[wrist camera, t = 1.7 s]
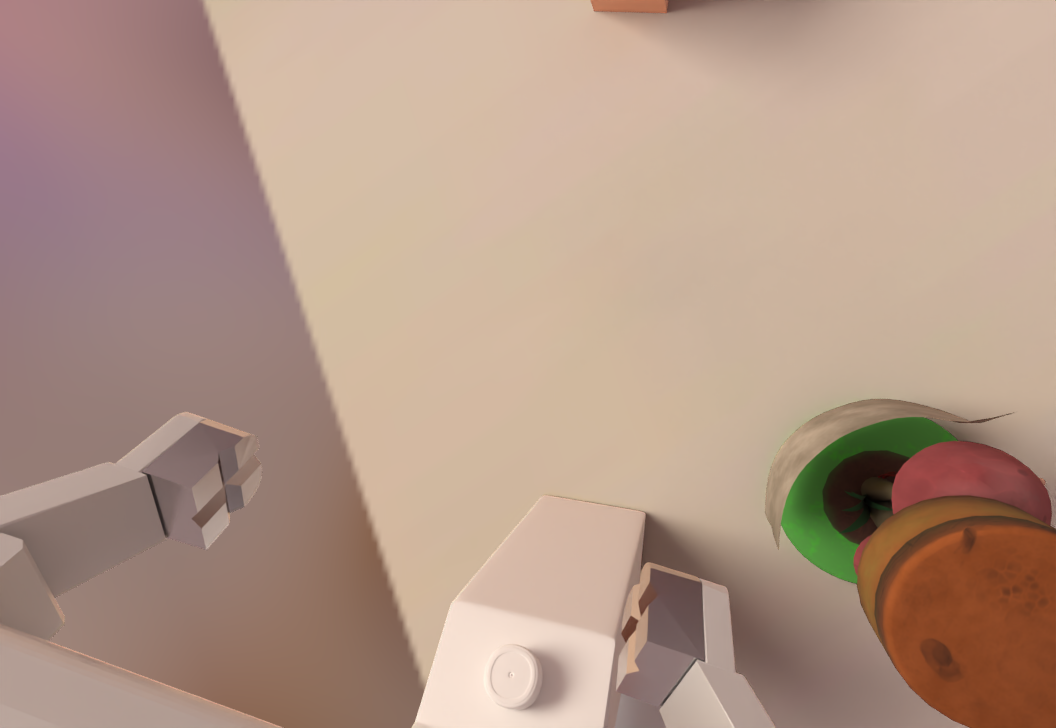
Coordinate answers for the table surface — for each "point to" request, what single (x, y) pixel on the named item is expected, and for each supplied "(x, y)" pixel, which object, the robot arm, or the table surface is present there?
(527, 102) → the table surface
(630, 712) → the plastic bottle
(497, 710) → the milk carton
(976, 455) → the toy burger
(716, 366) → the table surface
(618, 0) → the square container
